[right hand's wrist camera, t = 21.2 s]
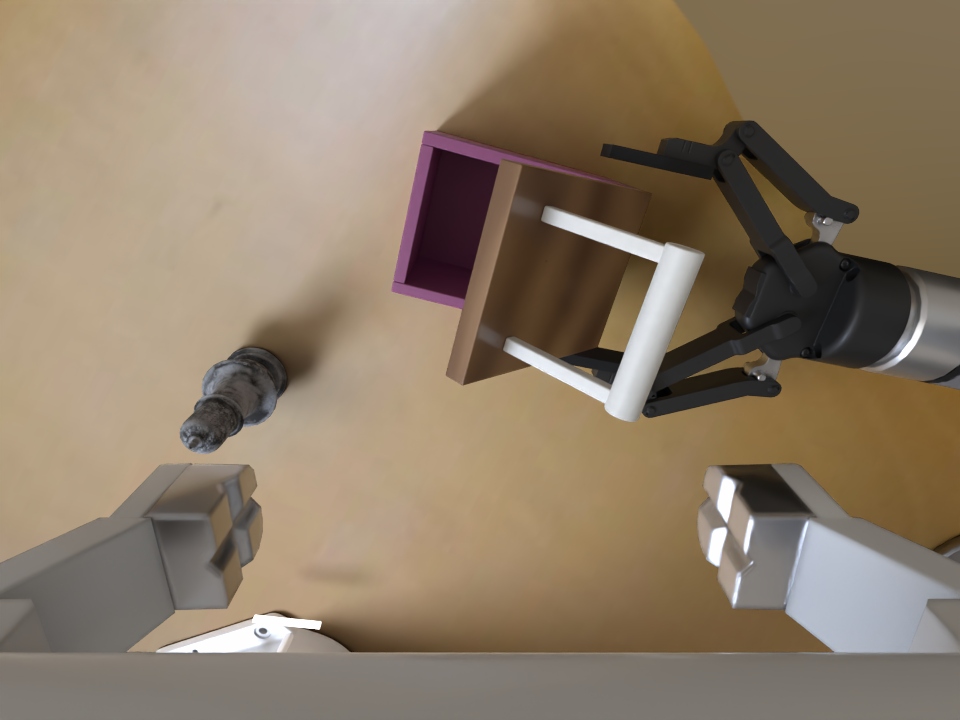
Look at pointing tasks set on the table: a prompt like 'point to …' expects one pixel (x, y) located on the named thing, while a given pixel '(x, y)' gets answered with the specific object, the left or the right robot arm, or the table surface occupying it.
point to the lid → (567, 284)
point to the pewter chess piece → (234, 398)
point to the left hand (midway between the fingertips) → (576, 256)
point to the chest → (452, 215)
